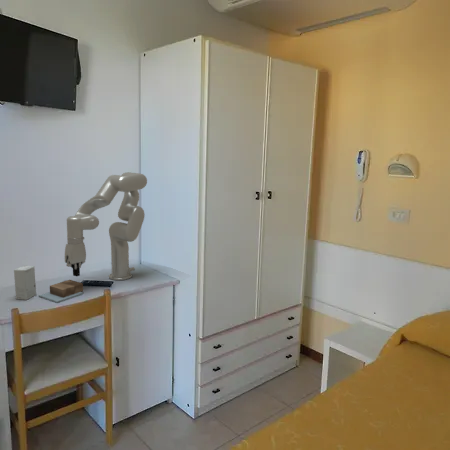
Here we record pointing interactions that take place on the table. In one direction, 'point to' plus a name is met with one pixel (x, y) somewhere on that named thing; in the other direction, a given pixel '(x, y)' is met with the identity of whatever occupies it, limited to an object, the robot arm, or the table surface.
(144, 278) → the table surface
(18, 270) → the skincare box
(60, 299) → the mat
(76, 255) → the robot arm
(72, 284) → the walnut slab
